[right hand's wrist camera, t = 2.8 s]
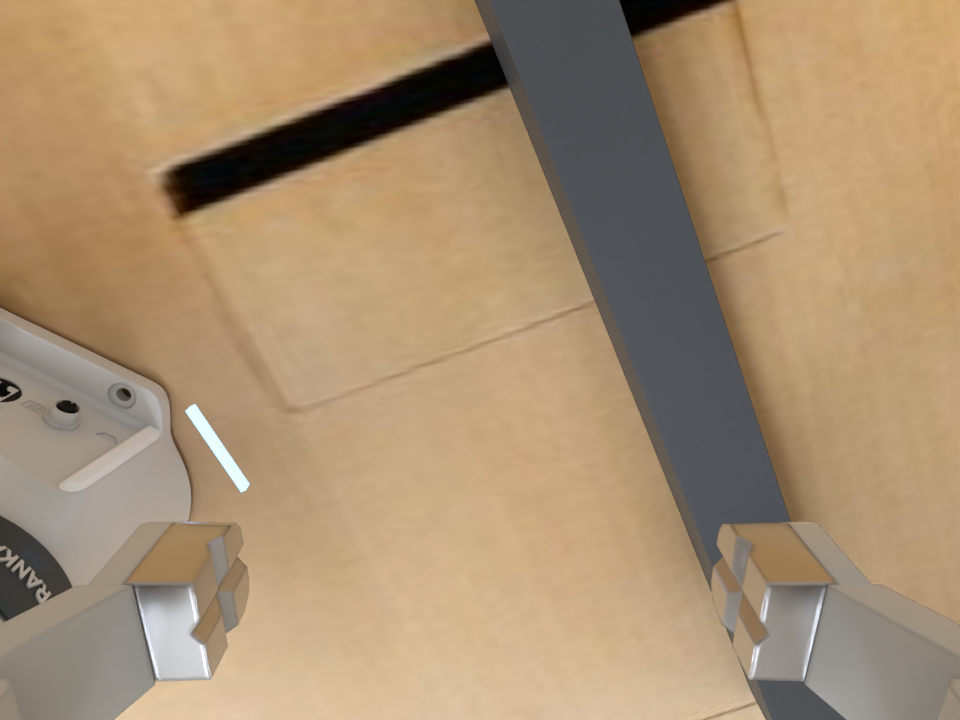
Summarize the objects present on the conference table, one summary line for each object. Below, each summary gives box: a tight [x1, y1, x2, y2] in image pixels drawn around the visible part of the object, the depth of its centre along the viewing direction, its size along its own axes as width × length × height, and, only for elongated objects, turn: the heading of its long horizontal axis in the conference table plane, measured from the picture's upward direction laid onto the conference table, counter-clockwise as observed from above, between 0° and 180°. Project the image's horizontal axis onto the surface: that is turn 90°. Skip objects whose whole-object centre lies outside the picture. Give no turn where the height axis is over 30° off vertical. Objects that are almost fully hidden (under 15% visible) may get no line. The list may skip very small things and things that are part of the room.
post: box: [475, 0, 846, 720], centre depth 35 cm, size 63×5×6 cm, turn 24°
